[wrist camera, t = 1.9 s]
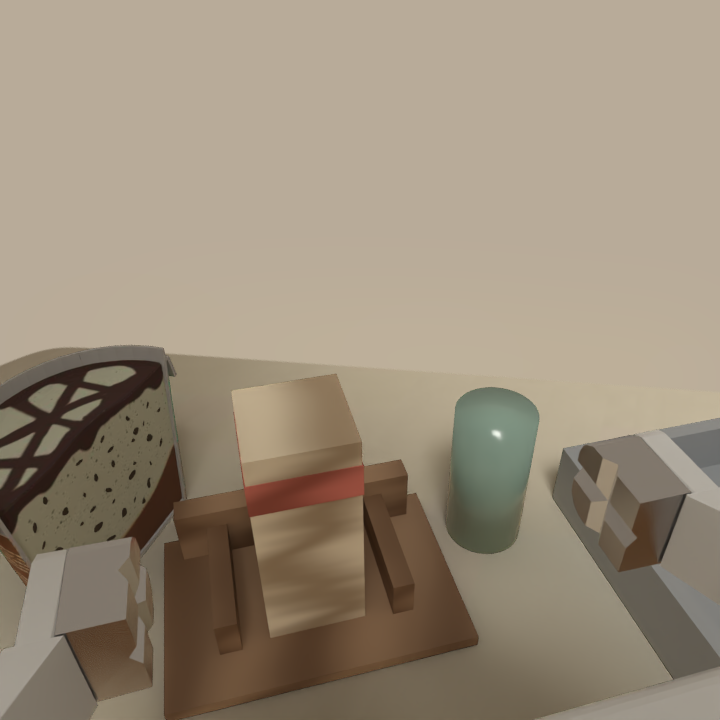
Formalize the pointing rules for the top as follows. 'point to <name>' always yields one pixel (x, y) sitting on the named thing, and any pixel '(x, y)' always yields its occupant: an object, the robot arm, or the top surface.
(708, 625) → the grey tray
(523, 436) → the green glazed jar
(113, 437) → the food container
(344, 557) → the birch block
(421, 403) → the top surface
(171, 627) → the walnut rack
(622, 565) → the robot arm
